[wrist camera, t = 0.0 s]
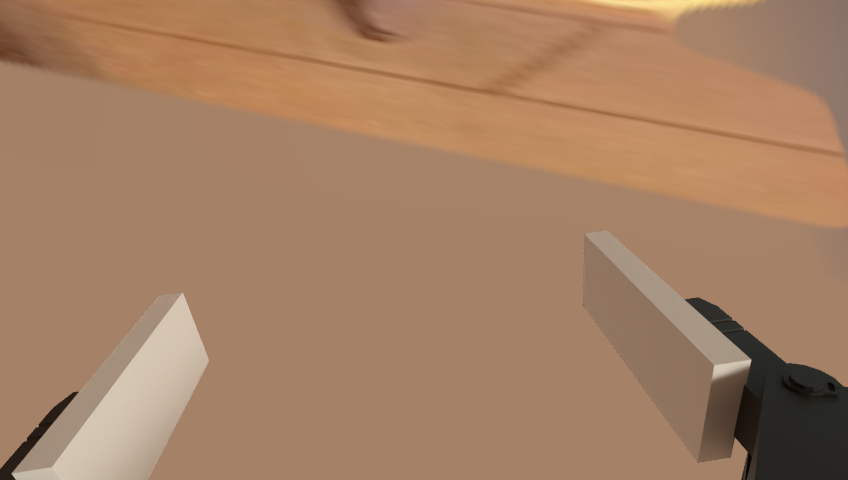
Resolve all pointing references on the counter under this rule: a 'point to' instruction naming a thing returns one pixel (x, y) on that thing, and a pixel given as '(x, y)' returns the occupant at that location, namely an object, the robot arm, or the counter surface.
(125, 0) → the counter surface
